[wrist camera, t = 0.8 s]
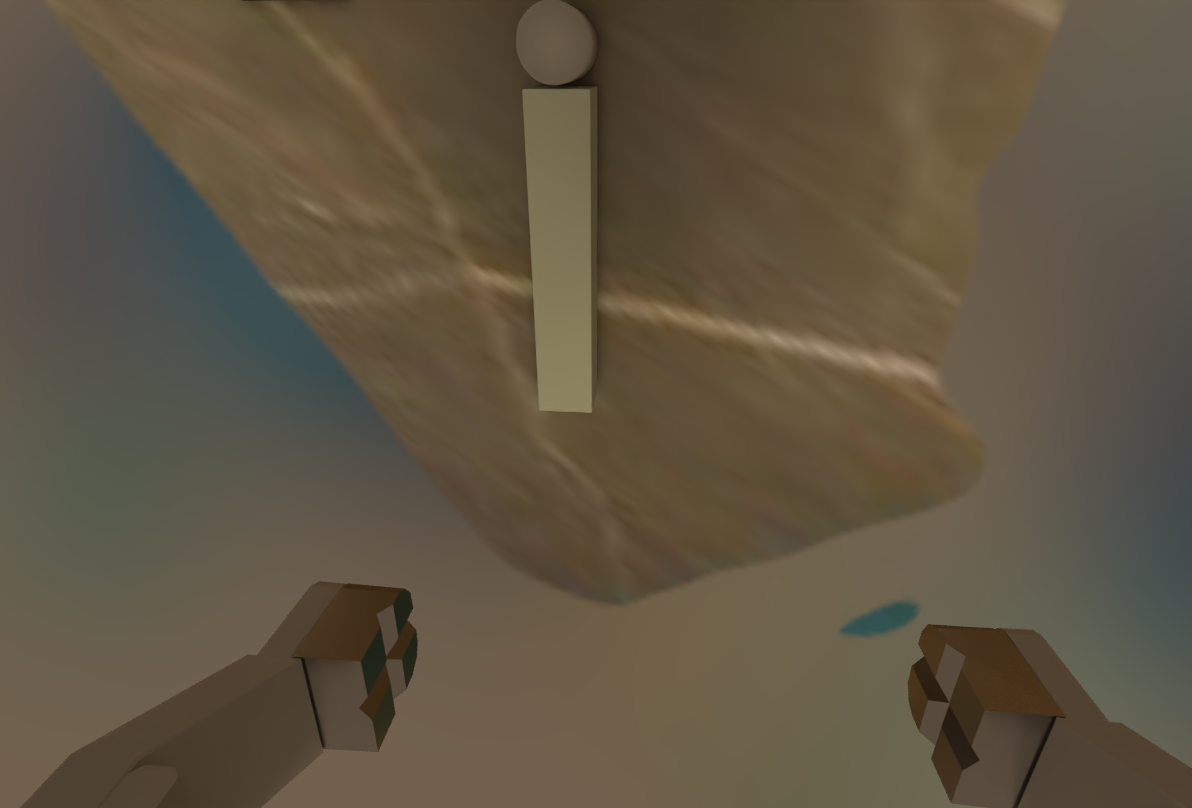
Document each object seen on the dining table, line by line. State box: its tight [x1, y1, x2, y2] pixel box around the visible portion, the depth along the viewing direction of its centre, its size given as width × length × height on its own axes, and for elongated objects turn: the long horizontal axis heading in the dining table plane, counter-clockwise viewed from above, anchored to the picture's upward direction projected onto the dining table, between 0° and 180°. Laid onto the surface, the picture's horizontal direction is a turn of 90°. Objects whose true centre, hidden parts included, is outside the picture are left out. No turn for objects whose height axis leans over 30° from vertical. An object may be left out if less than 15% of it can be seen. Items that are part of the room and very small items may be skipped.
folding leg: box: [516, 0, 598, 413], centre depth 37 cm, size 23×4×5 cm, turn 0°
